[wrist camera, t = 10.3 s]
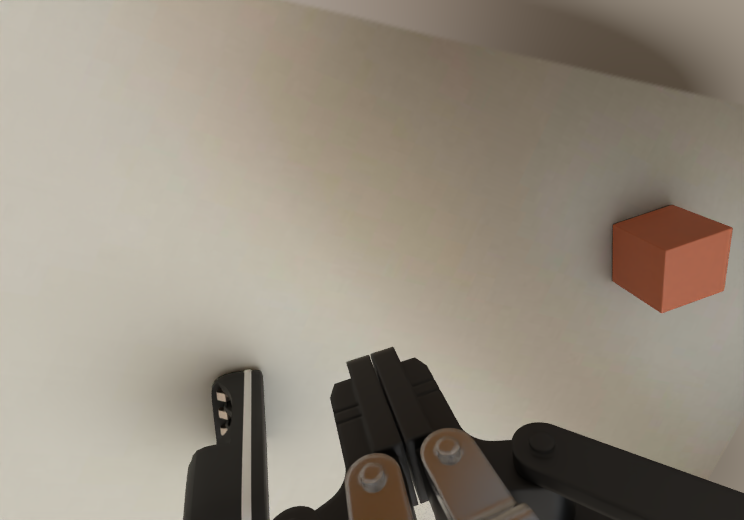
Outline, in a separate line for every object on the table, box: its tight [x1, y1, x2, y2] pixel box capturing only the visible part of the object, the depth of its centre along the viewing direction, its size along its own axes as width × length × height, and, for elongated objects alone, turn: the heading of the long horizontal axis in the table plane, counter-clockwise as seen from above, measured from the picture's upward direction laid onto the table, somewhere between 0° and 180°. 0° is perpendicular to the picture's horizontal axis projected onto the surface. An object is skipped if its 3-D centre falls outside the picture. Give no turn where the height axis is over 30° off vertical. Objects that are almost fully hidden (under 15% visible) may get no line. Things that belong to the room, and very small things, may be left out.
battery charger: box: [183, 369, 270, 520], centre depth 26 cm, size 7×4×11 cm, turn 177°
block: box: [612, 205, 733, 313], centre depth 31 cm, size 5×5×5 cm
